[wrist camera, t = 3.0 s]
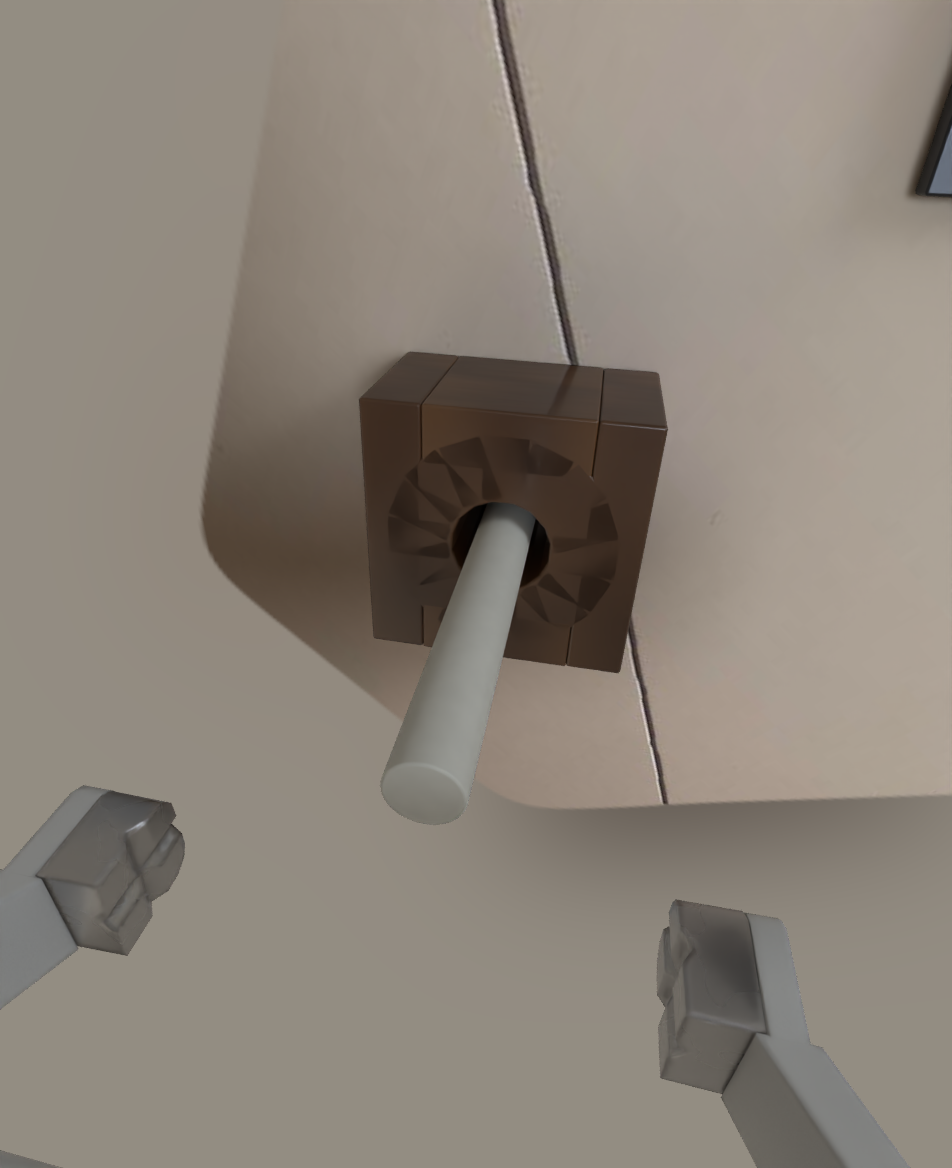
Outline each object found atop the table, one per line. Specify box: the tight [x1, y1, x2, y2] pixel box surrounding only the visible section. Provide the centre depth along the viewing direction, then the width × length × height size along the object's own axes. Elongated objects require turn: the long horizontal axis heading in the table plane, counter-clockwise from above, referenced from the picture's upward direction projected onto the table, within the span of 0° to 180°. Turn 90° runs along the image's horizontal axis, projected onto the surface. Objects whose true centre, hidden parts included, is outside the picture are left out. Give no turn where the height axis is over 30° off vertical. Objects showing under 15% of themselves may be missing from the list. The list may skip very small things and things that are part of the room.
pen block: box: [359, 352, 668, 673], centre depth 21 cm, size 8×8×5 cm
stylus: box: [381, 502, 536, 825], centre depth 18 cm, size 2×2×14 cm
